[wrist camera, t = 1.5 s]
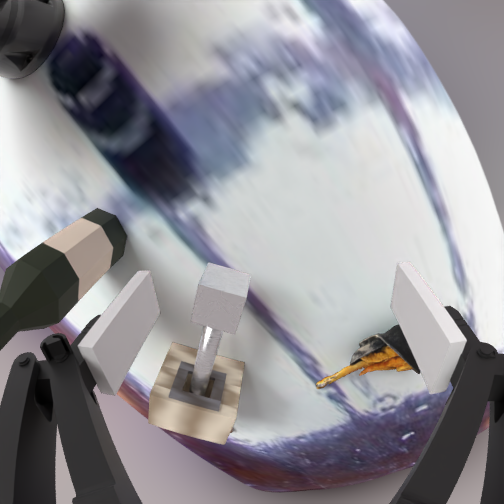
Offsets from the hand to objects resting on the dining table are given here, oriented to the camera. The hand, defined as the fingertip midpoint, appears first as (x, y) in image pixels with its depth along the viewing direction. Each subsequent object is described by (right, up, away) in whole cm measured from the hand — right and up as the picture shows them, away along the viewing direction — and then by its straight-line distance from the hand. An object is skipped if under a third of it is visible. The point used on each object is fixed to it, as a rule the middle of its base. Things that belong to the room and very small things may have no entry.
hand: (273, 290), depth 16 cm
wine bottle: (-22, +4, +25) cm, 34 cm away
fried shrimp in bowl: (+17, -13, +29) cm, 36 cm away
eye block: (-9, -18, +34) cm, 39 cm away
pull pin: (-7, -11, +25) cm, 28 cm away
